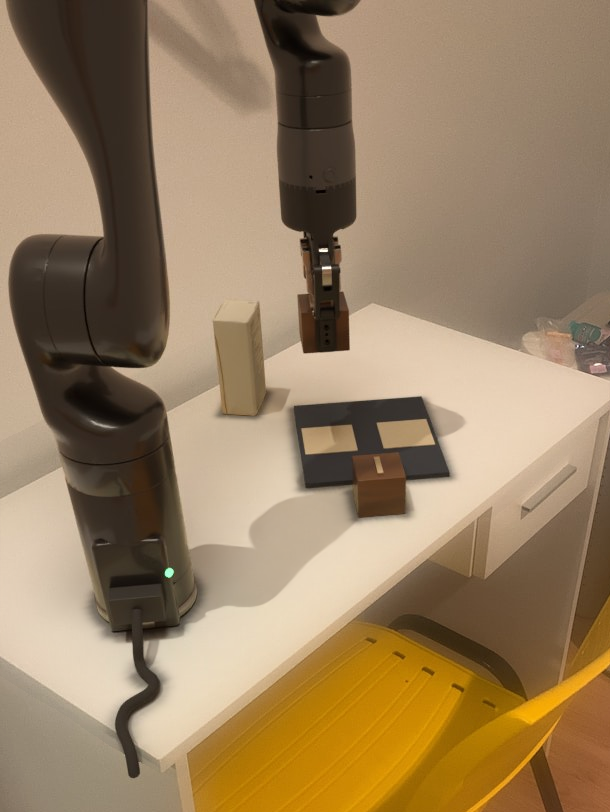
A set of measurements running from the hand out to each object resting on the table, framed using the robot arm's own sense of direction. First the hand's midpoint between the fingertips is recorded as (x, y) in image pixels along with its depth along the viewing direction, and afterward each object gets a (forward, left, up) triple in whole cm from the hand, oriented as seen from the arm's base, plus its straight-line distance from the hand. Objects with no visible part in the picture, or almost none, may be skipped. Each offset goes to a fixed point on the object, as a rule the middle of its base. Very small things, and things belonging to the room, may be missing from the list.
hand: (324, 338), depth 104 cm
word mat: (0, -5, -13) cm, 14 cm away
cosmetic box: (+11, +9, -13) cm, 19 cm away
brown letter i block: (-13, -4, -13) cm, 19 cm away
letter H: (0, 0, 0) cm, 0 cm away
